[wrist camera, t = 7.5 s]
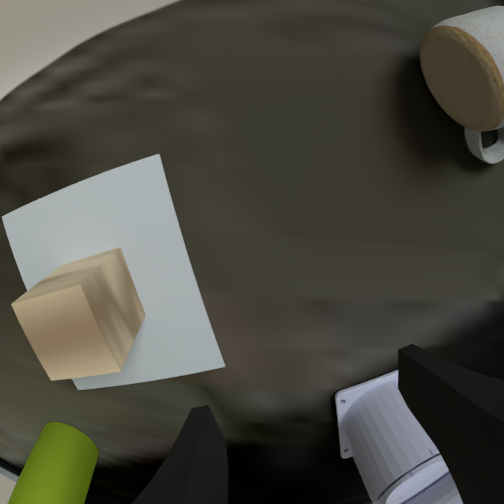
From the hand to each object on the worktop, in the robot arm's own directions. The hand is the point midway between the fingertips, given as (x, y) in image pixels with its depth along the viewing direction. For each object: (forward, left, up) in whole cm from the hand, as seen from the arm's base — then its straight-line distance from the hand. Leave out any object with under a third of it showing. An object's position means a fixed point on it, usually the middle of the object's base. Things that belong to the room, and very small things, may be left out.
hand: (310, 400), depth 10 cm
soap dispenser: (-10, +21, -10) cm, 25 cm away
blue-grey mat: (+3, +10, -9) cm, 14 cm away
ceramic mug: (+11, -17, -10) cm, 23 cm away
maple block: (+3, +10, -9) cm, 14 cm away
